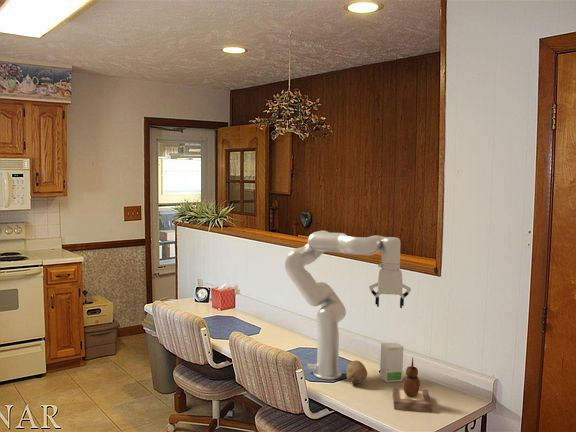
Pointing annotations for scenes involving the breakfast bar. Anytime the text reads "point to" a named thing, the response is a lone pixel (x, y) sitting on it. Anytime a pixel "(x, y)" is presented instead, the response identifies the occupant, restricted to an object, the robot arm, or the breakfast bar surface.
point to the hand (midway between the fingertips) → (389, 306)
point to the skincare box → (391, 362)
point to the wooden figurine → (411, 381)
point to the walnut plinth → (412, 400)
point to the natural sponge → (356, 372)
